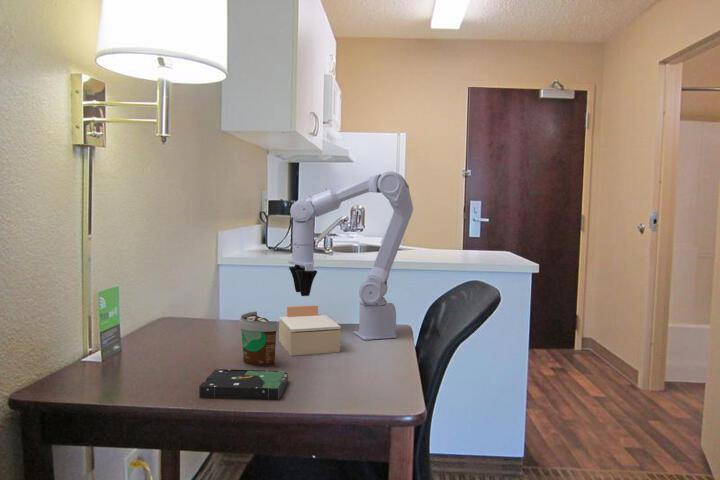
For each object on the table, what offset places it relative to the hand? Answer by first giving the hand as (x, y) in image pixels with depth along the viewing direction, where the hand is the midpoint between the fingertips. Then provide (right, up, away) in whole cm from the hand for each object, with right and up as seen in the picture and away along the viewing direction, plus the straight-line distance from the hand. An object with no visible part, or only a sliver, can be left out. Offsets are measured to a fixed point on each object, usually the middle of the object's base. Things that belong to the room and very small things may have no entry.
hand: (302, 293), depth 147 cm
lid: (+3, -6, -14) cm, 16 cm away
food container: (-8, -13, -28) cm, 31 cm away
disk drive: (-6, -14, -45) cm, 47 cm away
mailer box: (+3, -12, -14) cm, 18 cm away
